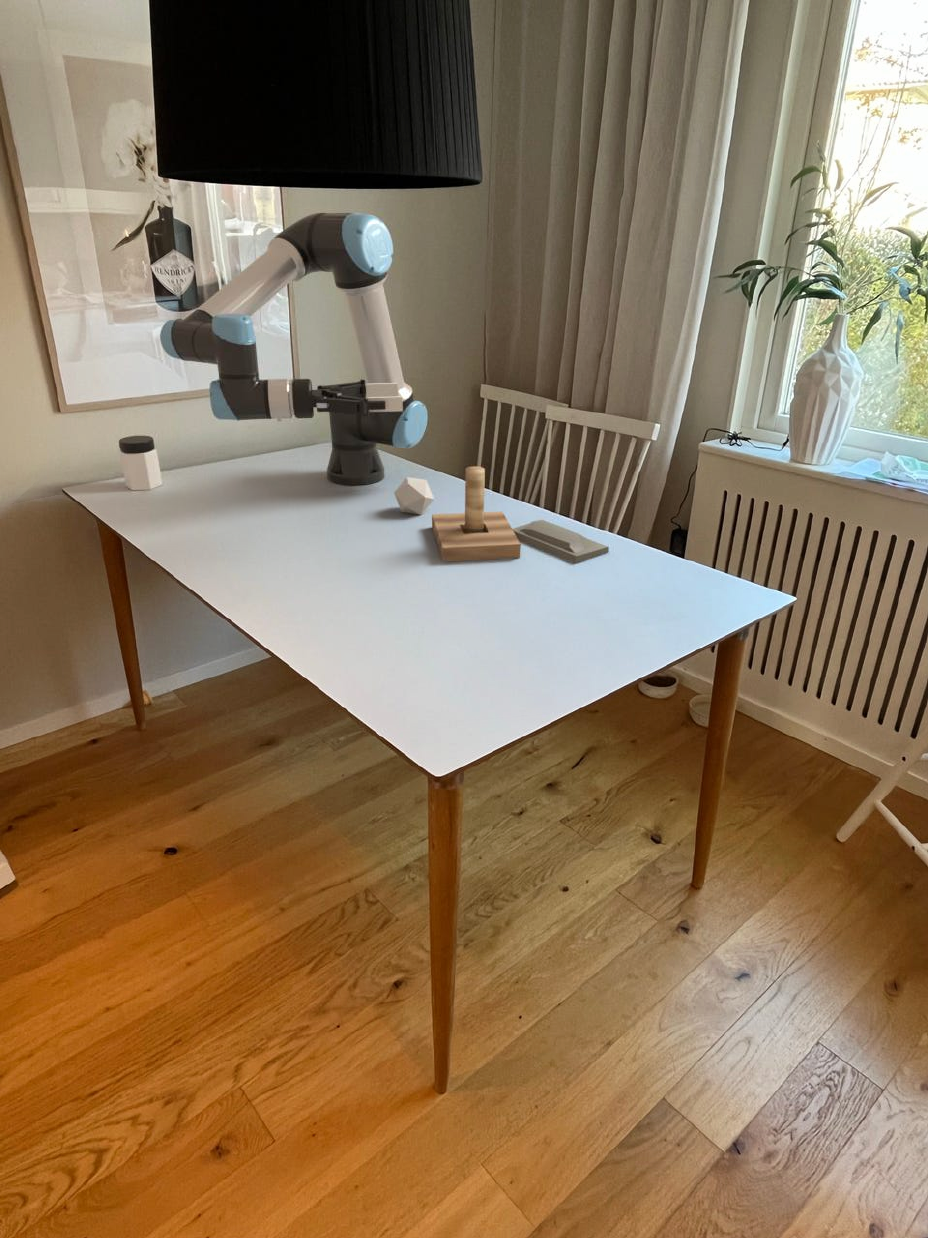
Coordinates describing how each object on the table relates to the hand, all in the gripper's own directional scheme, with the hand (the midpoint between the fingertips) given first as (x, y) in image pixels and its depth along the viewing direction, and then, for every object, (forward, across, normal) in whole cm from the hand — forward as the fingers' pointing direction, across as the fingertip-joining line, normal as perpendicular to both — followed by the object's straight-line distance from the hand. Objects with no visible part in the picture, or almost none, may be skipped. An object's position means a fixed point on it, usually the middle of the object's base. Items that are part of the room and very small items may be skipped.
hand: (400, 396), depth 160 cm
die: (+4, -16, -30) cm, 34 cm away
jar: (-63, -44, -30) cm, 83 cm away
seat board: (+15, +5, -30) cm, 34 cm away
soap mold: (+32, +8, -31) cm, 45 cm away
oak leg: (+15, +5, -30) cm, 34 cm away
